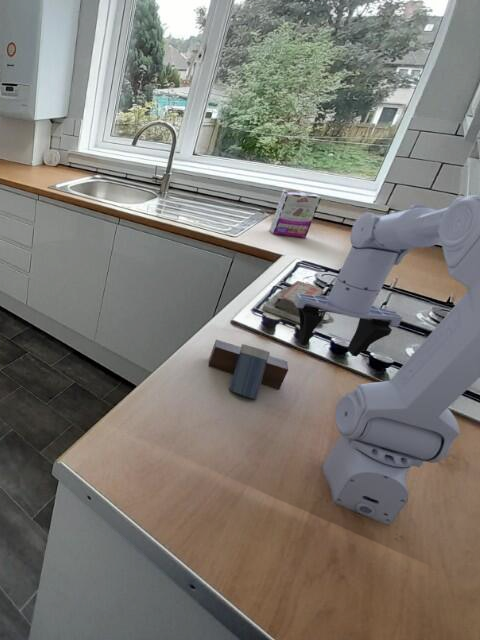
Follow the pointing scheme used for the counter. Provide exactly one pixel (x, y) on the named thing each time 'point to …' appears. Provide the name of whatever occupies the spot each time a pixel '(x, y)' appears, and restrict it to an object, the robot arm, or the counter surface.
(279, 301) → the packaged product
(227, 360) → the pale-topped brown beam
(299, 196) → the candy bar box
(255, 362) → the blue lidded container
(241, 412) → the counter surface
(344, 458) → the robot arm
